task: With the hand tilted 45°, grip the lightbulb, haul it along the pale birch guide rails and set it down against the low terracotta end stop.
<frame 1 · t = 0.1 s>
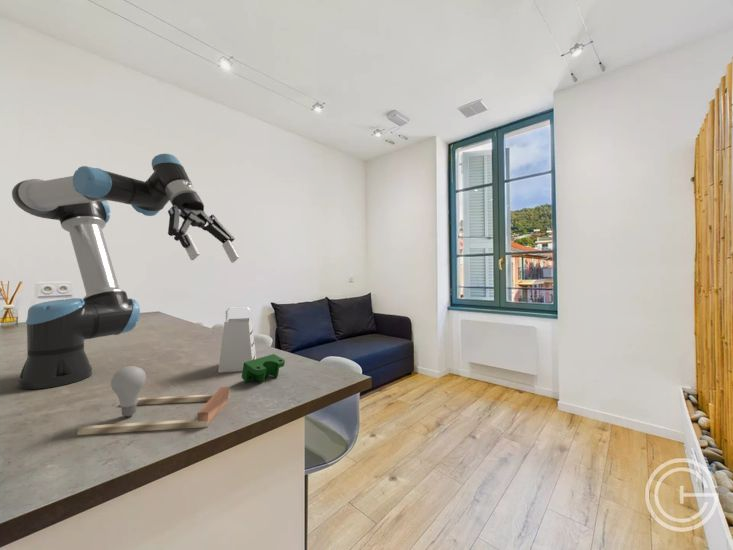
hand: (217, 258, 84), 36 cm above the counter, tool tilted 35°, fingers open, 13 cm apart
lightbulb: (129, 417, 67), on the counter
guide: (163, 414, 68), on the counter
grater: (238, 367, 103), on the counter
clamp: (264, 379, 91), on the counter
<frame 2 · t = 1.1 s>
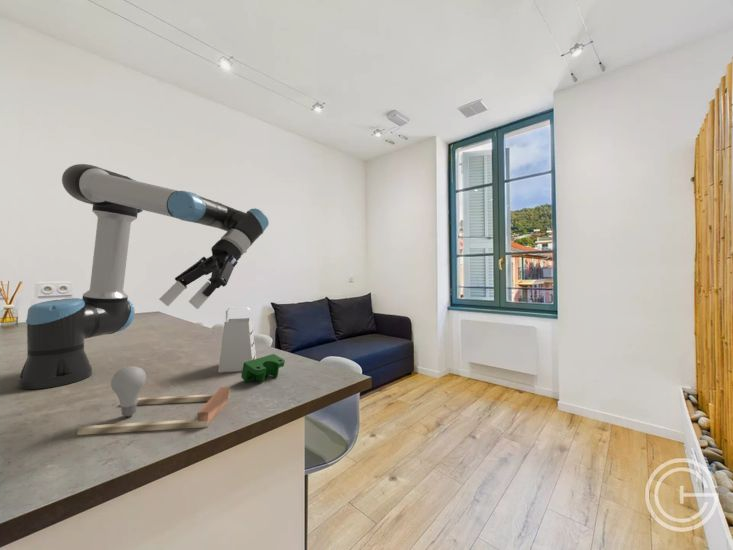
hand: (177, 304, 76), 24 cm above the counter, tool tilted 45°, fingers open, 13 cm apart
nothing on the counter moved.
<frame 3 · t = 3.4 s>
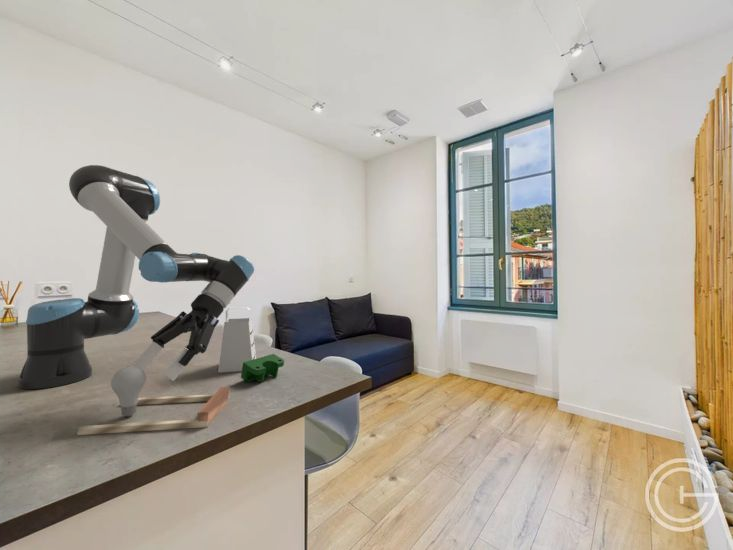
hand: (152, 372, 70), 9 cm above the counter, tool tilted 45°, fingers open, 13 cm apart
nothing on the counter moved.
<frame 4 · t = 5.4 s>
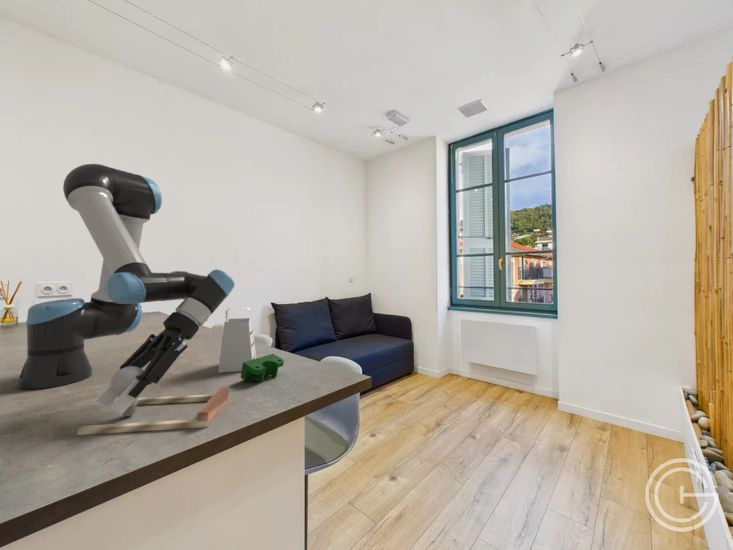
hand: (108, 407, 64), 3 cm above the counter, tool tilted 45°, fingers closed on lightbulb, 6 cm apart
lightbulb: (129, 417, 67), on the counter, touching gripper
everything else where it was.
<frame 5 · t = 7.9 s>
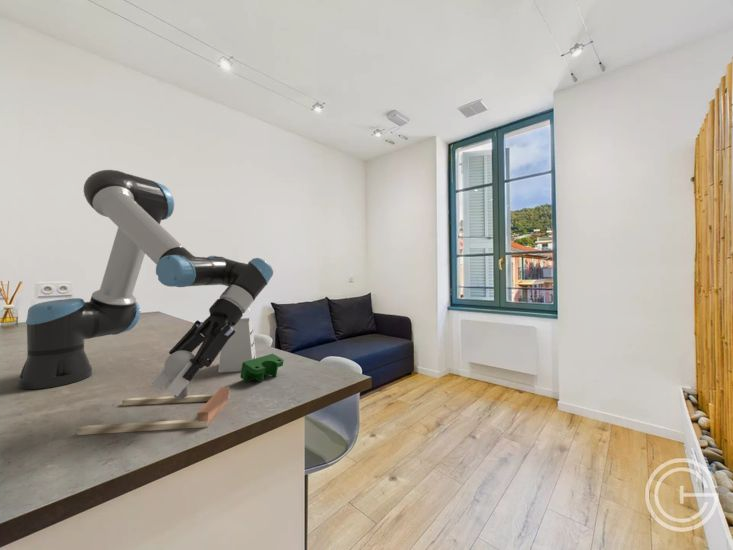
hand: (163, 389, 65), 7 cm above the counter, tool tilted 45°, fingers closed on lightbulb, 6 cm apart
lightbulb: (180, 400, 68), point 3 cm above the counter, touching gripper
everything else where it was.
when the fingers open (4 cm above the counter, at t = 10.4 s): lightbulb stays where it is, on the counter.
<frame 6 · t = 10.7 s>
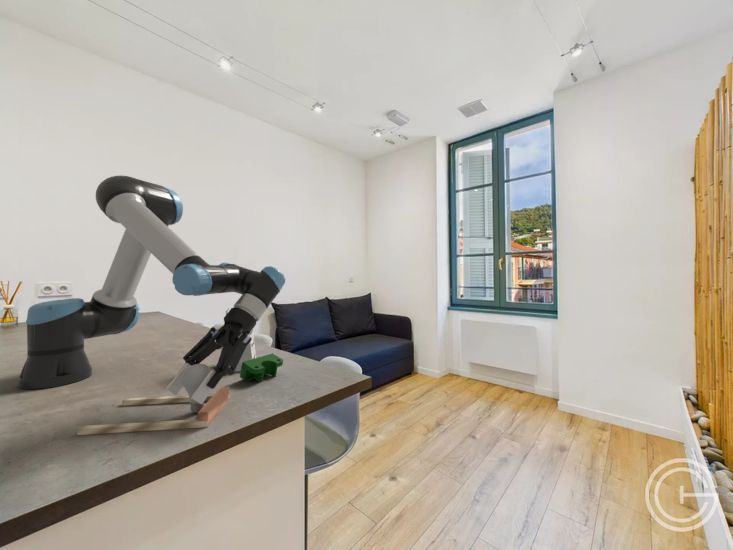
hand: (183, 396, 66), 5 cm above the counter, tool tilted 45°, fingers open, 9 cm apart
lightbulb: (197, 413, 69), on the counter
everything else where it was.
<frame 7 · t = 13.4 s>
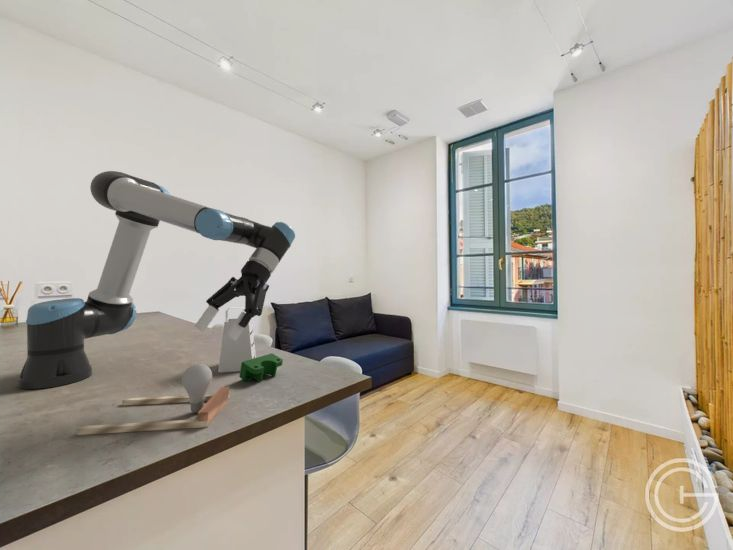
hand: (214, 333, 76), 17 cm above the counter, tool tilted 40°, fingers open, 13 cm apart
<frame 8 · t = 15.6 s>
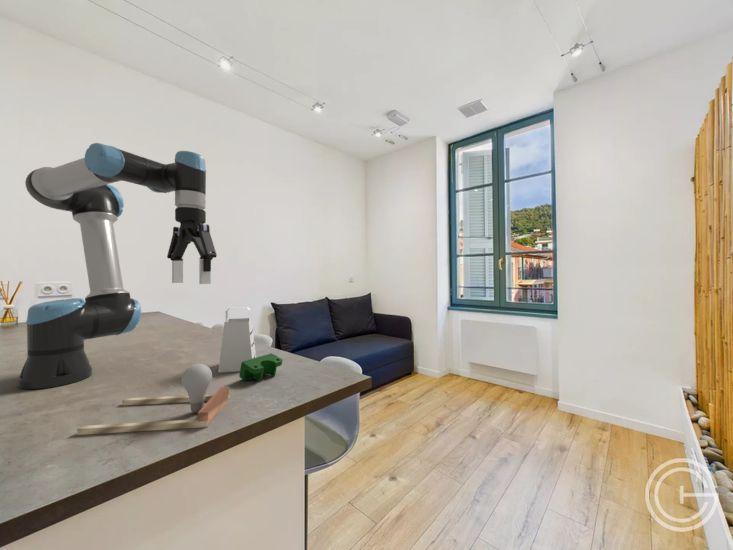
hand: (190, 283, 86), 29 cm above the counter, tool pointing down, fingers open, 13 cm apart
at the end: lightbulb 0.4 cm from the target spot, on the counter; lightbulb tilted 0°; the gripper is holding nothing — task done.
